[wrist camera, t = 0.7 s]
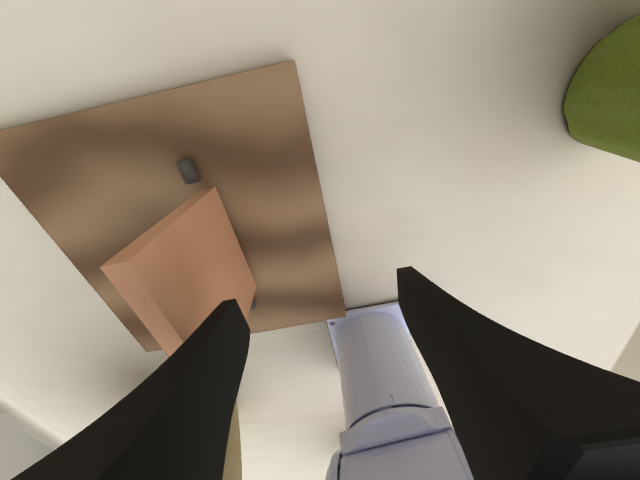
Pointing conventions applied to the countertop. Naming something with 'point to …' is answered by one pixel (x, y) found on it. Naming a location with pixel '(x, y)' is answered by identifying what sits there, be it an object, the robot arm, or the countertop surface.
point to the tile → (183, 270)
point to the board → (187, 186)
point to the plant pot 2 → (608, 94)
